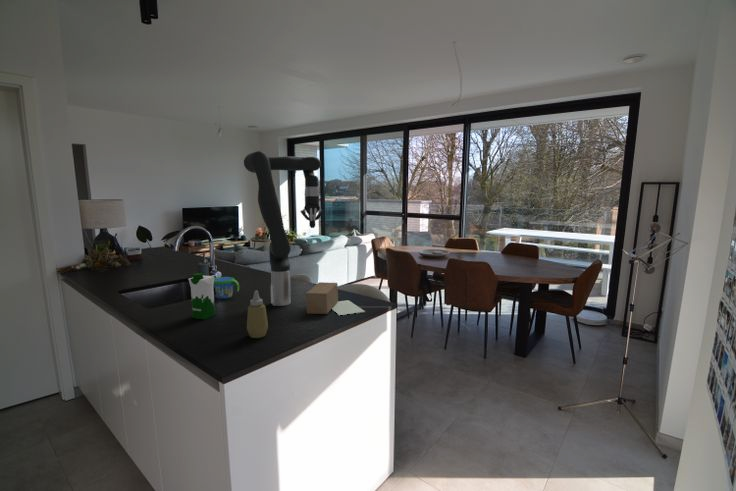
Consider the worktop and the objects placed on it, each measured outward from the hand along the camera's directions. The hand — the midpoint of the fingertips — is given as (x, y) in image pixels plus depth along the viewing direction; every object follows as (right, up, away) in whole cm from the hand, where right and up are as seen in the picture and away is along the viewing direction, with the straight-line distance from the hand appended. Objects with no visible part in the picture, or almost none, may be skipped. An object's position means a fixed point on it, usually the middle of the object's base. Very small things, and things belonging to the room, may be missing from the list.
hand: (312, 227), depth 198 cm
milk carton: (-44, -42, -33) cm, 69 cm away
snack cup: (-47, -38, -2) cm, 60 cm away
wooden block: (+10, -33, -11) cm, 36 cm away
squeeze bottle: (-13, -45, -55) cm, 72 cm away
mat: (+18, -40, -19) cm, 48 cm away
